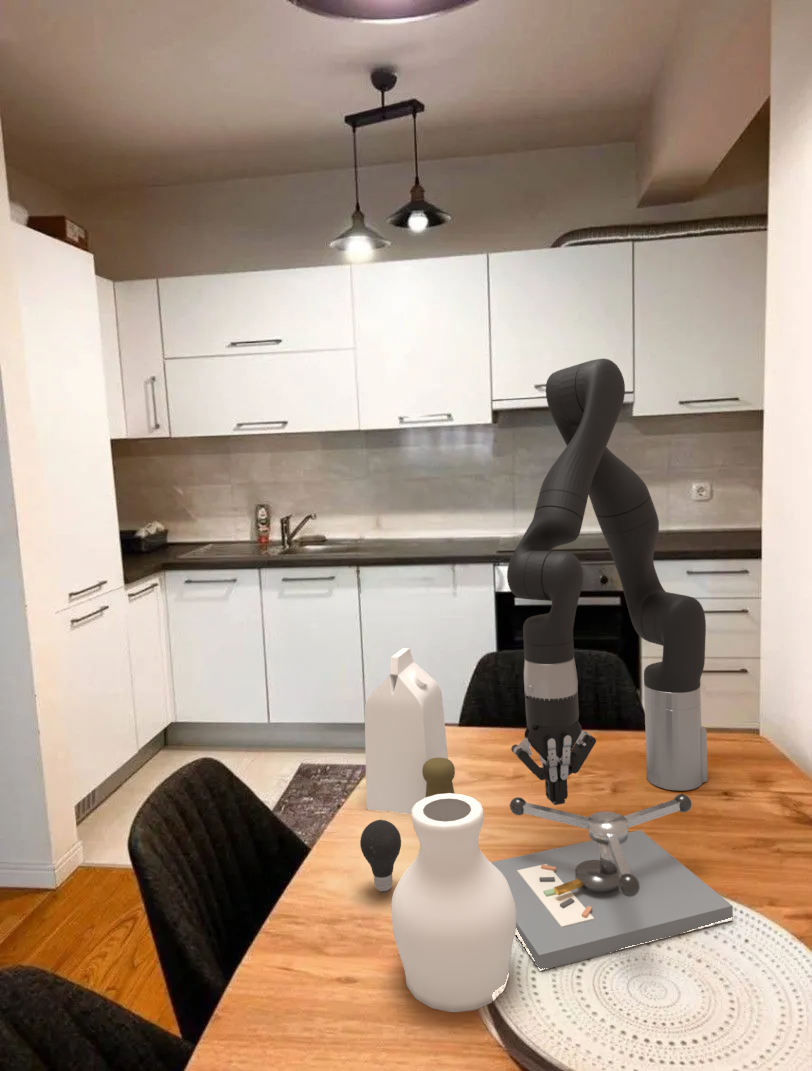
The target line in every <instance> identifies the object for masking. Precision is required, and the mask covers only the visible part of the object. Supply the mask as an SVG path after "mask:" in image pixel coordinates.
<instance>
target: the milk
mask: <svg viewBox="0 0 812 1071" xmlns="http://www.w3.org/2000/svg"><path fill="white" fill-rule="evenodd" d="M389 667H390V668H389V669H390V670H389V676H388V677H386V679H385V680H384V681H383V682H382V683H381V684H380V685H379V686H378V687H377V688H376V689H374V690H375V691H373V692H372V694H371V695H370V696H369V697H368V698H367V700H366V702H365V705H364V734H365V735H364V737H365V739H364V742H365V745H364V746H365V791H366V792H365V794H366V798H365V799H366V801H365V802H366V810H367V809H369V810H368V811H373V810H379V811H378V812H383V811H393V812H398V813H397V814H401V813H405V814H404V815H410V814H411V809H412V808H413V807H414V805H415V804H416V803H417V802H419V801H420V800H422V799H424V798H426V783H427V782H426V781H425V779H424V777H423V773H422V770H423V765H424V764H425V762H426V761H428V760H429V759H432V758H446V759H448V760H449V755H448V754H449V753H448V743H447V734H446V732H447V731H446V724H445V714H444V713H445V712H444V705H443V693H442V689H441V686H440V684H438V682H437V681H436V680H435V679H434V678H433V677H432V676H430V675H429V674H428V673H427V672H426V671H425V670H424V669H423V668H421V667H420V666H419V665H418V664H417V663H416V662H415V661H414V660H413V655H412V652H411V648H409V647H407V648H406V647H403V648H401V649H400V650H398V651H397V652H395V654H393V655H392V656H390V666H389ZM381 810H382V811H381ZM406 813H407V814H406Z"/></svg>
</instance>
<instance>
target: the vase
mask: <svg viewBox="0 0 812 1071" xmlns="http://www.w3.org/2000/svg"><path fill="white" fill-rule="evenodd" d="M411 821H412V826H413V829H414V832H415V834H416V836H417V838H418V841H419V850H418V854H417V856H416V858H415V860H413V861H412V863H411V864H410V865H408V867H407V869H405V871H404V872H403V874H402V875H401V878H400V879H399V881H398V883H397V884H396V887H395V888H394V890H393V894H392V897H391V922H392V923H391V924H392V932H393V938H394V941H395V944H396V947H397V951H398V953H399V957H400V961H401V964H402V967H403V970H404V976H405V983H406V988H407V989H409V991H410V993H411V994H412V995H413V997H414V999H416V1000H418V1001H419V1002H420V1003H422V1004H424V1005H425V1006H427V1007H430V1008H431V1009H433V1010H439V1011H443V1012H449V1013H461V1012H471V1011H477V1010H478V1009H481V1008H483V1007H485V1006H488V1005H489V1004H493V1002H492V994H493V992H495V990H497V989H498V988H499V987H501V986H502V985H504V984H505V982H506V979H507V975H508V973H509V974H510V964H511V963H510V962H511V956H512V955H511V954H512V948H513V944H514V940H515V936H516V935H515V929H516V919H517V918H516V906H515V902H514V899H513V896H512V893H511V890H510V887H509V885H508V882H507V880H506V878H505V877H504V875H503V874H502V873H501V872H500V871H499V870H498V869H497V868H496V867H495V866H494V865H493V864H492V863H491V862H492V861H490V860H489V859H488V858H487V857H486V856H485V854H484V853H483V852H482V850H481V848H480V847H479V846H480V845H479V837H480V834H481V830H482V827H483V823H484V809H483V806H482V803H481V802H480V801H478V800H477V799H476V798H474V797H472V796H468V795H466V794H462V793H461V794H460V793H455V794H453V793H446V794H436V795H433V796H429V797H426V798H424V799H422V800H420V801H419V802H417V803H416V804H415V805H414V807H413V808H412V809H411Z"/></svg>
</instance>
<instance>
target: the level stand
mask: <svg viewBox="0 0 812 1071" xmlns="http://www.w3.org/2000/svg"><path fill="white" fill-rule="evenodd" d="M620 846H621V849H622V851H623V854H624V856H625V859H626V862H627V864H628V867H629V870H630V872H631V874H632V875H634V876H635V877H636V878H637V879H638V881H639V884H640V889H639V892H638V893H637V894H636V895H635V896H633V897H628V896H625V895H623V894H622V893H621V892H620V890H619V889H617V890H615V891H612V892H607V893H598V892H592V891H589V890H586V889H584V888H582V887H580V888H577V889H574V890H572V891H569V892H566V893H564V894H561V895H557V894H556V893H555V892H554V887H556V886H559V885H562V884H565V883H567V882H570V881H573V880H576V878H575V869H576V867H577V866H578V865H579V864H580V863H582V862H584V861H588V860H600V849H599V843H597V842H595V841H593V840H592V839H591V840H589V841H588V840H587V841H583V842H579V843H575V844H569V845H566V846H560V847H555V848H552V849H551V848H550V849H546V850H542V851H537V852H532V853H529V854H523V855H518V856H514V857H510V858H505V859H504V858H503V859H501V860H500V859H499V860H495V861H490V862H491V863H492V864H493V865H494V866H495V867H496V868H497V869H498V870H499V871H500V872H501V873H502V874H503V875H504V877H505V878H506V880H507V882H508V885H509V887H510V890H511V893H512V896H513V899H514V902H515V906H516V918H517V919H516V928H517V930H518V932H519V934H520V936H521V937H522V939H523V941H524V943H525V944H526V946H527V948H528V949H529V951H530V953H531V954H532V957H533V958H534V960H535V962H536V964H537V965H538V967H539V968H540V969H542V968H543V969H544V968H545V969H546V968H551V969H554V968H553V967H555V968H558V967H562V966H565V965H569V964H573V963H577V962H582V961H585V960H588V959H589V960H590V959H592V958H597V957H599V956H605V955H607V954H606V953H608V954H611V953H610V952H612V953H615V952H614V951H616V950H619V949H621V948H625V947H628V946H632V945H637V944H640V943H645V942H649V941H652V940H656V939H660V938H665V937H669V936H673V937H675V936H674V935H677V934H680V933H683V932H687V931H689V930H692V929H695V928H698V927H701V926H705V925H709V924H711V923H715V922H718V921H721V920H725V919H728V918H731V917H733V916H734V914H733V912H734V911H733V904H731V903H730V902H729V901H727V900H726V899H725V898H724V897H723V896H721V895H720V894H719V893H718V892H717V891H716V890H714V889H713V888H712V887H711V886H710V885H708V884H707V883H705V882H704V881H703V880H702V879H701V878H700V877H698V876H697V875H696V874H695V873H694V872H693V871H691V870H690V869H689V868H687V867H686V866H685V865H683V864H682V862H680V861H679V860H678V859H677V858H675V857H674V856H673V855H672V854H670V853H669V852H668V851H666V849H664V848H663V847H662V846H661V845H659V844H658V843H657V842H656V841H654V840H653V839H652V838H651V837H649V835H647V834H646V833H645V832H644V831H643V830H641V829H638V830H635V831H630V832H629V831H628V839H627V841H625V842H624V843H622V844H620ZM677 936H678V935H677ZM669 938H670V937H669ZM616 952H617V951H616Z"/></svg>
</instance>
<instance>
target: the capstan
mask: <svg viewBox="0 0 812 1071" xmlns="http://www.w3.org/2000/svg"><path fill="white" fill-rule="evenodd" d="M692 805H693V802H692V800H691V798H690V797H689V795H687V794H684V793H678V794H676V796H674V798H673V799H672V800H669V801H666V802H662V803H659V804H656V805H652V806H649V807H648V808H644V809H641V810H638V811H635V812H632V813H629V814H626V815H623V814H620V813H618V812H613V811H597V812H594V813H592V814H590V815H589V816H585V815H581V814H576V813H573V812H568V811H564V810H560V809H555V808H551V807H548V806H547V807H546V806H543V805H539V804H535V803H531V802H527V801H526V800H525V799H524V798H522V797H519V796H516V797H513V798H512V799H511V801H510V802H509V809H510V811H511V812H512V813H513V814H514V815H516V816H522V815H523V814H526V815H529V816H534V817H537V818H541V819H546V820H549V821H552V822H553V821H554V822H557V823H562V824H566V825H571V826H574V827H578V828H582V829H585V830H588V837H589V838H590V839H591V841H592V840H593V841H595V842H597V843H599V849H600V860H588V861H584V862H582V863H580V864H579V865H578V866H577V867H576V869H575V878H576V880H573V881H570V882H567V883H565V884H562V885H559V886H556V887H554V892H555V893H556V894H557V895H561V894H564V893H566V892H569V891H572V890H574V889H577V888H580V887H582V888H584V889H586V890H589V891H592V892H598V893H607V892H612V891H615V890H617V889H619V890H620V892H621V893H622V894H623V895H625V896H628V897H633V896H635V895H636V894H637V893H638V892H639V889H640V884H639V881H638V879H637V878H636V877H635V876H634V875H632V874H631V872H630V870H629V867H628V864H627V862H626V859H625V856H624V854H623V851H622V849H621V846H620V844H622V843H624V842H625V841H627V839H628V833H629V829H630V828H632V827H635V826H637V825H642V824H643V823H647V822H650V821H653V820H655V819H658V818H662V817H664V816H667V815H670V814H673V813H677V812H680V813H687V812H689V811H690V810H691V809H692Z"/></svg>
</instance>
